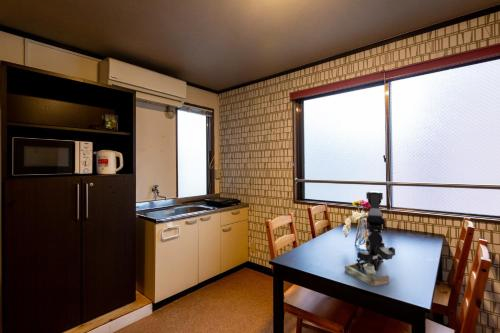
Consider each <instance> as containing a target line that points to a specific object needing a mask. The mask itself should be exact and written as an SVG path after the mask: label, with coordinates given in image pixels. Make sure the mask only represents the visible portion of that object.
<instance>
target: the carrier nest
mask: <svg viewBox="0 0 500 333" xmlns="http://www.w3.org/2000/svg"><path fill="white" fill-rule="evenodd" d="M356 263H357V262H355V263H351V264H345V265H344V272H346V273H347V274H349V275H351V276H353V277H354V278H357V279H358V280H360V281H362V282H364V283H365V284H367V285H369V286H371V287H373V288H374V287H377V286H380V285H385V284H387V283H390V276H389V275H388V274H386V275H381V276H378V277H376V278H371V277H369V276H367V274H366V273H362V271H359V270H362V268H360V269H358V265H357V266H356ZM359 265H360V266H361V264H359ZM361 267H362V266H361Z"/></svg>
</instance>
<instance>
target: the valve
mask: <svg viewBox="0 0 500 333" xmlns="http://www.w3.org/2000/svg"><path fill="white" fill-rule="evenodd" d="M355 260H356V262H355V263H356V266H357V265H358V270H361V271H365V275H367V276H369V277H371V278H377V277H376V276H377V274H376V272H377V271H375V269H374V265H373V264H371V263H370V261H365V260H362V259H360V258H357V259H355ZM359 264H361V266H360V265H359ZM360 268H361V269H360Z"/></svg>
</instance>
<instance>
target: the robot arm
mask: <svg viewBox="0 0 500 333" xmlns="http://www.w3.org/2000/svg"><path fill="white" fill-rule="evenodd" d="M365 195H366V197H365V198H366V200H367V204H368V205H369V206H370V209H369V210H368V214H367V215H366V230H368V235H367V238H366V243H365V244H366V246H365V247H366V249H365V250H366V251H364V250H362V251H358V252H357V254H356V255H357V259H359V260H360V259H362V260H365V261H368V262H369V263H370V264H373V265H374V269H375V272H378V270H379V268H380V265H381V263H383V262H384V260H387V261H388V260H392V259H393V257H394V256H396V248H395V247H393V246H390V247H387V246H385V242H384V240H383V235H382V231H385V229H386V219H385V217H384V216H383V212H382V211H381V210H380V205H381V203H382V200H383V198H384V197H383V195H384V194H383V193H382V192H381V191H373V190H372V191H371V190H369V191H367V192H366V194H365ZM365 261H364V262H365Z"/></svg>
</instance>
